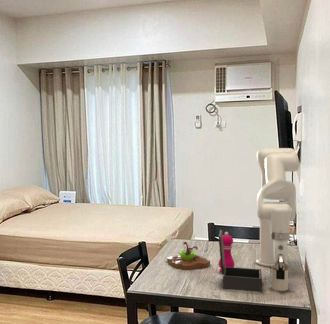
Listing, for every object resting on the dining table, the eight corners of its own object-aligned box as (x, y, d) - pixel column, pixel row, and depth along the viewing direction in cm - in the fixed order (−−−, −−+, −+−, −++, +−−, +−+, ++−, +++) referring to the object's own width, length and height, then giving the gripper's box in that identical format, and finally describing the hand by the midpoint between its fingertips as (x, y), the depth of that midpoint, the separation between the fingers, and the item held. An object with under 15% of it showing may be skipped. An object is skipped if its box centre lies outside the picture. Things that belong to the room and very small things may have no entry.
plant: (193, 257, 259) (193, 236, 258) (215, 266, 241) (215, 244, 240) (160, 261, 252) (160, 240, 251) (181, 271, 233) (181, 248, 233)
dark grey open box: (261, 283, 213) (261, 269, 213) (261, 293, 199) (262, 278, 199) (224, 280, 218) (224, 266, 218) (222, 290, 204) (222, 275, 204)
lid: (222, 229, 217) (220, 229, 217) (220, 236, 203) (218, 236, 203) (225, 265, 217) (223, 265, 218) (223, 274, 204) (221, 274, 204)
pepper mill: (232, 276, 224) (232, 233, 223) (216, 274, 228) (216, 232, 226) (236, 272, 230) (236, 231, 229) (221, 270, 234) (221, 229, 233)
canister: (281, 286, 208) (282, 264, 207) (291, 291, 201) (291, 268, 200) (267, 288, 206) (268, 265, 206) (277, 293, 200) (277, 269, 199)
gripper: (291, 240, 193) (291, 282, 194) (288, 232, 209) (287, 270, 210) (271, 239, 195) (271, 281, 197) (269, 231, 212) (269, 269, 213)
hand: (279, 275), depth 203 cm, fingers open, 9 cm apart
